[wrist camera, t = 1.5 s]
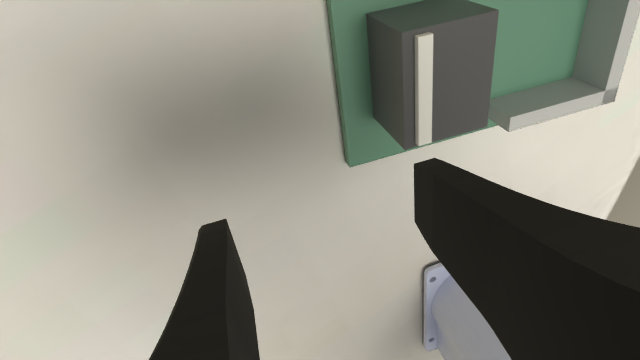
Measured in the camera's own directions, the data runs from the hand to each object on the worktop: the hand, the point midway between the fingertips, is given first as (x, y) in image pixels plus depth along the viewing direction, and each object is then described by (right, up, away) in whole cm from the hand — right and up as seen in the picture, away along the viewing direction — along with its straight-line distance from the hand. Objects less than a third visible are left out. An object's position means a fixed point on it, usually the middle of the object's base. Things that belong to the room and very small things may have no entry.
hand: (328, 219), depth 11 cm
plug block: (+4, +7, +9) cm, 12 cm away
